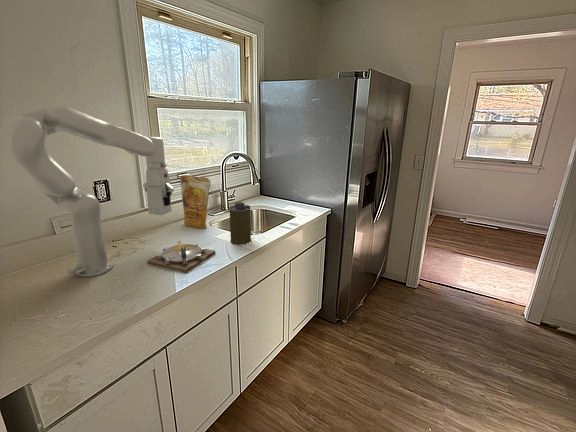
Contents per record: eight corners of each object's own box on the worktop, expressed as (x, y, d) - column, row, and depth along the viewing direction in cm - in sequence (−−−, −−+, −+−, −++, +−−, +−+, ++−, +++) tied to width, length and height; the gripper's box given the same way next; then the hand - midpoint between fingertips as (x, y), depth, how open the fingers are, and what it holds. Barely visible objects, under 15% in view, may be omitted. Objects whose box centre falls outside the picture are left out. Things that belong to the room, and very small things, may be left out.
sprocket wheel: (209, 260, 128) (208, 247, 126) (159, 268, 121) (158, 254, 119) (201, 243, 145) (200, 231, 143) (157, 249, 137) (156, 237, 135)
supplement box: (162, 215, 136) (160, 188, 133) (148, 214, 138) (145, 186, 134) (172, 211, 143) (170, 185, 140) (158, 210, 145) (155, 183, 141)
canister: (239, 246, 146) (238, 206, 140) (226, 241, 153) (224, 202, 147) (256, 240, 154) (255, 202, 148) (243, 235, 161) (242, 198, 155)
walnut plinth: (186, 273, 121) (185, 265, 120) (147, 263, 128) (146, 256, 127) (215, 253, 139) (215, 246, 138) (179, 246, 146) (179, 239, 144)
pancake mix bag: (188, 221, 181) (184, 174, 173) (213, 226, 173) (210, 177, 165) (179, 224, 175) (175, 176, 167) (205, 230, 167) (202, 179, 159)
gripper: (178, 166, 135) (180, 204, 140) (147, 163, 141) (151, 200, 146) (165, 168, 128) (169, 208, 133) (134, 165, 134) (138, 203, 139)
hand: (159, 204), depth 140 cm, fingers closed on supplement box, 8 cm apart
